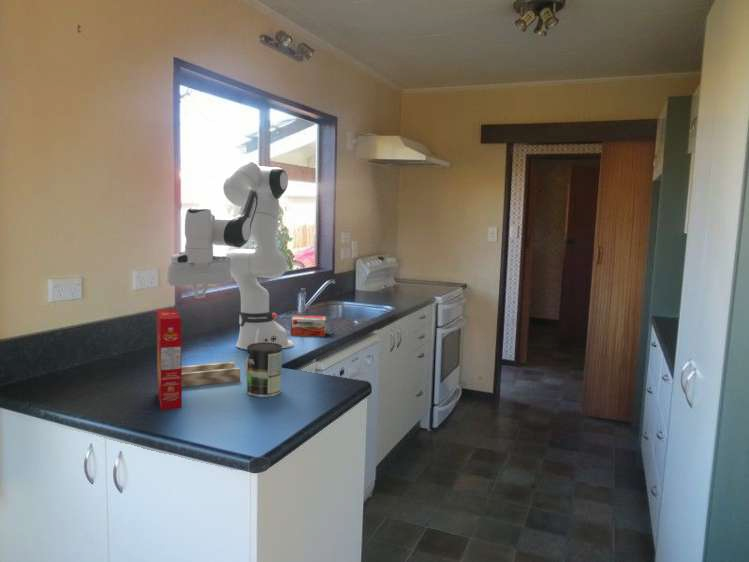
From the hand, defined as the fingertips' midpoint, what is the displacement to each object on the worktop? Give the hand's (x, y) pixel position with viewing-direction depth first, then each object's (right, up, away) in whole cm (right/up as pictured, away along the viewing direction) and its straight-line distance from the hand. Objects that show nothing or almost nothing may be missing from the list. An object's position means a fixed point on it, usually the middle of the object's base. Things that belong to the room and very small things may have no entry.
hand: (199, 297), depth 190 cm
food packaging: (0, -29, -28) cm, 40 cm away
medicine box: (+29, -19, +65) cm, 74 cm away
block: (+19, -26, -1) cm, 32 cm away
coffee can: (+25, -28, -18) cm, 42 cm away
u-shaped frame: (+4, -26, -8) cm, 28 cm away
